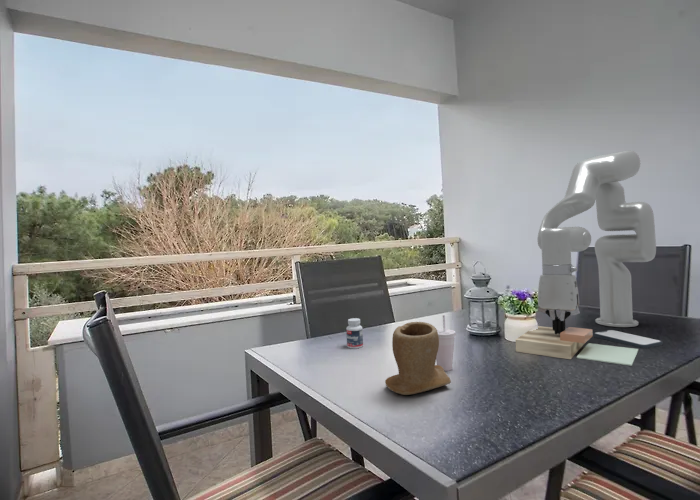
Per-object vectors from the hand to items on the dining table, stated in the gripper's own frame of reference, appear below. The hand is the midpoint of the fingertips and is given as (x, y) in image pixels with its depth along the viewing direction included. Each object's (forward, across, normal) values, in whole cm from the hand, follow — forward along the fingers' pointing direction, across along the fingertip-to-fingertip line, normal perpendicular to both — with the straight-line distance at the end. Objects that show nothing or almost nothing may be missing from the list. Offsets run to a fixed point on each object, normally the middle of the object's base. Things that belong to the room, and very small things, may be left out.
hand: (559, 333), depth 113 cm
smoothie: (+5, +19, +34) cm, 39 cm away
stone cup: (+5, +17, +49) cm, 52 cm away
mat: (+4, -12, 0) cm, 13 cm away
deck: (+4, +2, 0) cm, 5 cm away
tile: (+1, -5, 0) cm, 5 cm away
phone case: (+5, -14, -18) cm, 23 cm away
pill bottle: (+5, +53, +30) cm, 61 cm away
